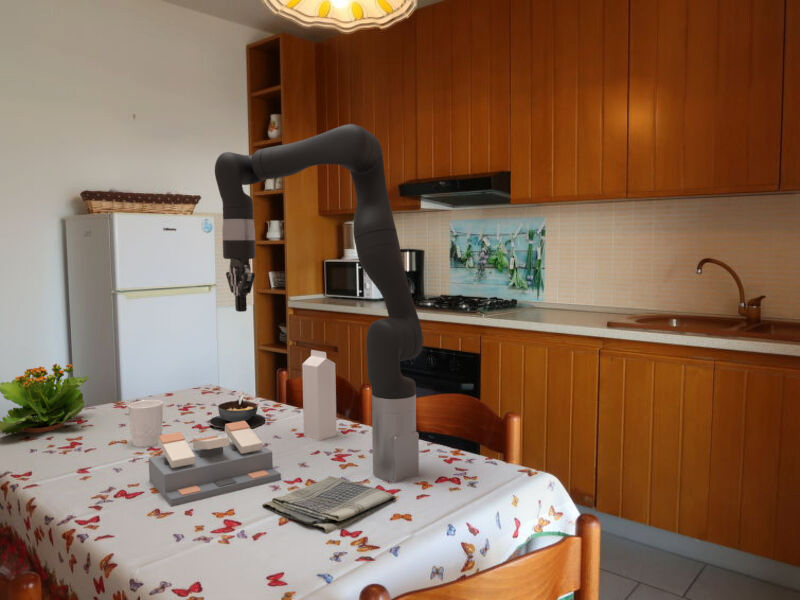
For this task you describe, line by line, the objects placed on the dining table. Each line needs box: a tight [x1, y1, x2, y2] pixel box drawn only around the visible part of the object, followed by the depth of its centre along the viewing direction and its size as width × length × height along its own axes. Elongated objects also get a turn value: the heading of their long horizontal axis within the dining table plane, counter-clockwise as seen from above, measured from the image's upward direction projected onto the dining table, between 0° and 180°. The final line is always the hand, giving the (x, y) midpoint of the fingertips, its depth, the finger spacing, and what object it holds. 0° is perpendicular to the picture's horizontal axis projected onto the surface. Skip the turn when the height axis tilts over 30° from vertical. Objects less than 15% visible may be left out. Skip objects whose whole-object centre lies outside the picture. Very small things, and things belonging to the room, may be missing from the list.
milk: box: [301, 349, 337, 441], centre depth 156 cm, size 6×6×22 cm
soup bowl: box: [208, 390, 266, 430], centre depth 169 cm, size 15×16×7 cm
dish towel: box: [261, 476, 397, 535], centre depth 114 cm, size 19×18×3 cm
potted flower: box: [0, 363, 90, 435], centre depth 166 cm, size 25×24×18 cm
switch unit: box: [148, 441, 282, 507], centre depth 126 cm, size 16×22×6 cm
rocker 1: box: [157, 431, 195, 468], centre depth 124 cm, size 10×4×2 cm, turn 36°
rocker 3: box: [224, 421, 263, 454], centre depth 132 cm, size 10×4×2 cm, turn 36°
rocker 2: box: [192, 435, 230, 449], centre depth 128 cm, size 10×4×2 cm, turn 36°
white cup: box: [128, 399, 164, 448], centre depth 152 cm, size 8×8×10 cm
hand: (241, 311), depth 147 cm, fingers closed
